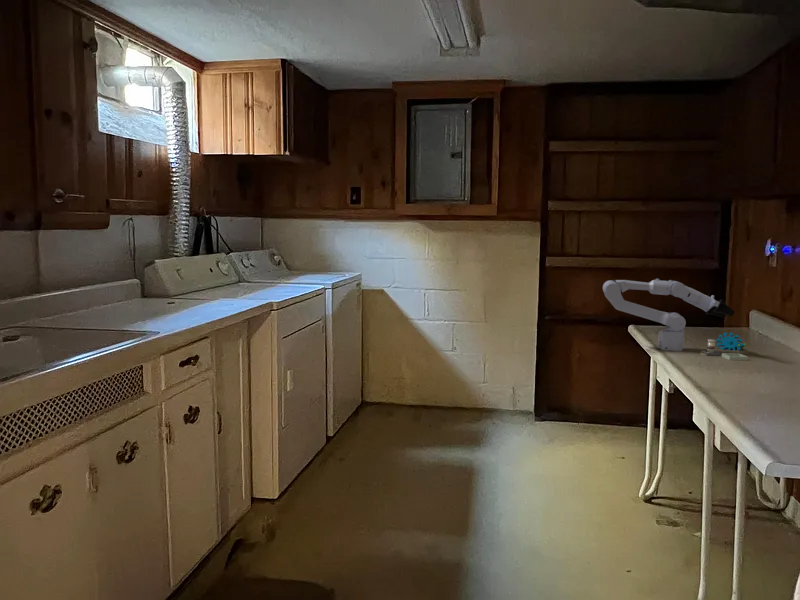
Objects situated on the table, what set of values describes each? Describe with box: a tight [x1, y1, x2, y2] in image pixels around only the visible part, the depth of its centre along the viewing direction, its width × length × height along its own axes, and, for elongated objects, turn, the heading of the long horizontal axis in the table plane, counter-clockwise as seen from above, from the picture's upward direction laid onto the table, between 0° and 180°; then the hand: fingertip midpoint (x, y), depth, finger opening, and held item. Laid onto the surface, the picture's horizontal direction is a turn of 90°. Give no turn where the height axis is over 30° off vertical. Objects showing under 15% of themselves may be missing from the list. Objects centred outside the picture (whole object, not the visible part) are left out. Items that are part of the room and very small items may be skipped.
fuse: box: [706, 338, 717, 353], centre depth 266 cm, size 3×3×6 cm
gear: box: [715, 332, 747, 352], centre depth 280 cm, size 11×6×10 cm
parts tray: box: [721, 352, 749, 361], centre depth 259 cm, size 7×6×2 cm
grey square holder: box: [699, 349, 722, 357], centre depth 266 cm, size 7×6×2 cm
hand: (729, 314), depth 270 cm, fingers open, 7 cm apart
